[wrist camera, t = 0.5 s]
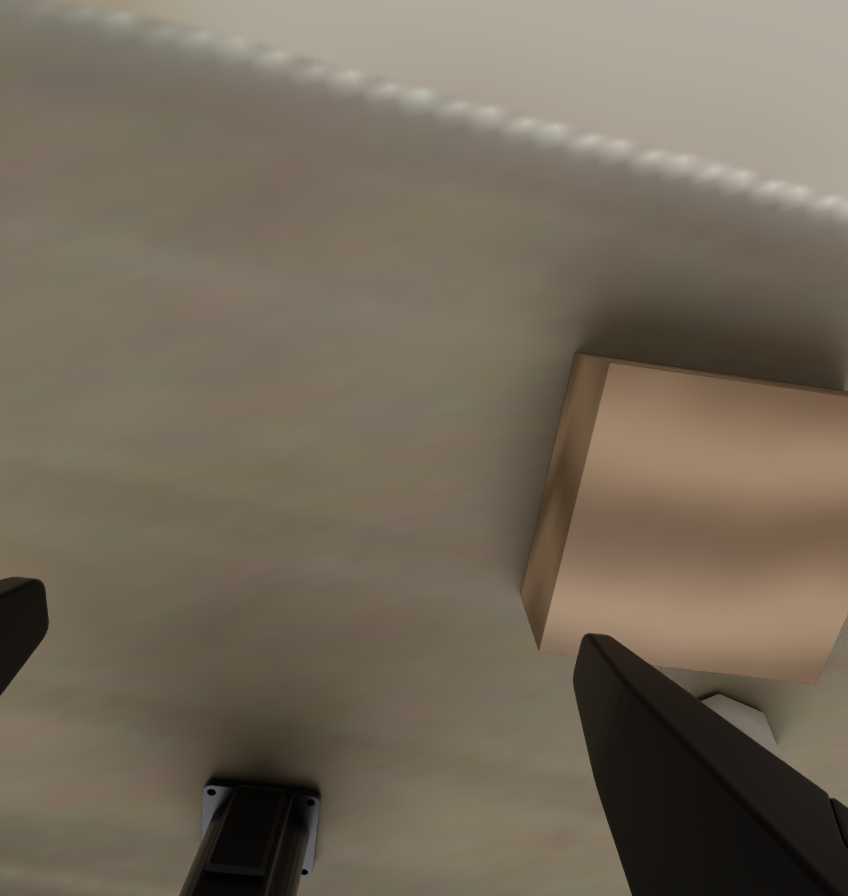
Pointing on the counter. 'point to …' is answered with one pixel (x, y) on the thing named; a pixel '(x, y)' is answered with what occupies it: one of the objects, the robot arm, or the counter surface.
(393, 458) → the counter surface
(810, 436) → the walnut block
